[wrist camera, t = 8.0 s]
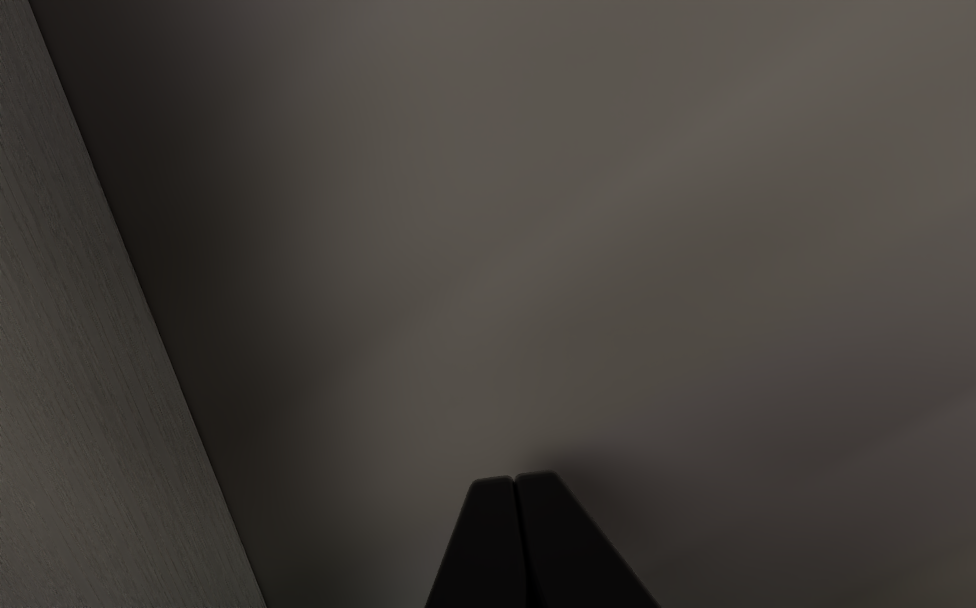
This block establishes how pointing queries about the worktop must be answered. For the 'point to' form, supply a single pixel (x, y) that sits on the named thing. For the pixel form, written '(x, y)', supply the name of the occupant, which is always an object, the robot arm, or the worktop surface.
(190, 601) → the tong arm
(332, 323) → the worktop surface
